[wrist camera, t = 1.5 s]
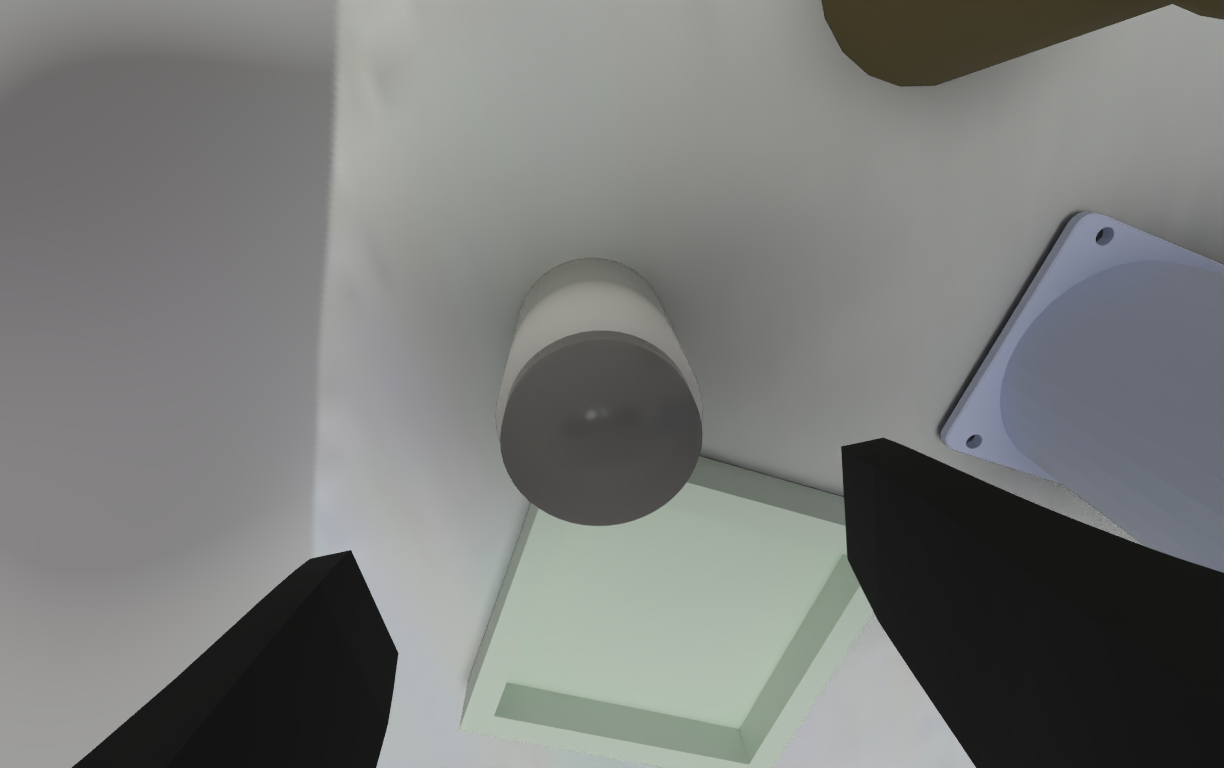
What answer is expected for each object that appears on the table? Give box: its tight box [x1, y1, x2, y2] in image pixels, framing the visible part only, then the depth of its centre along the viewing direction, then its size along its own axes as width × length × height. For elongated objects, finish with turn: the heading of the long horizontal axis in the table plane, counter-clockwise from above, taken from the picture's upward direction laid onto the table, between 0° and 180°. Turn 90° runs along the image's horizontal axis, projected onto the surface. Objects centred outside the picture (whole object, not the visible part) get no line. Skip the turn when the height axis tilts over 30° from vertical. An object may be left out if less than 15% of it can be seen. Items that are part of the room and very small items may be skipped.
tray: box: [459, 456, 874, 768], centre depth 22 cm, size 12×12×2 cm
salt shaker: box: [496, 258, 703, 526], centre depth 16 cm, size 4×4×7 cm
